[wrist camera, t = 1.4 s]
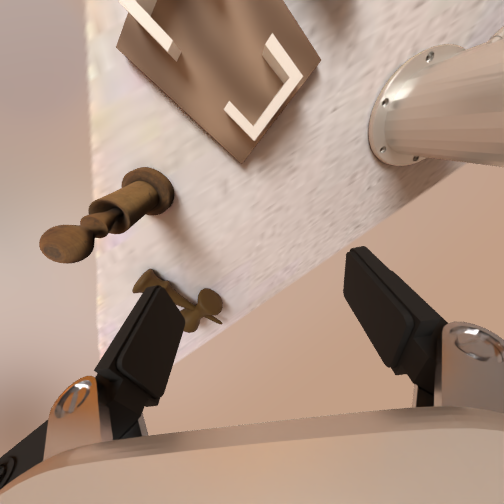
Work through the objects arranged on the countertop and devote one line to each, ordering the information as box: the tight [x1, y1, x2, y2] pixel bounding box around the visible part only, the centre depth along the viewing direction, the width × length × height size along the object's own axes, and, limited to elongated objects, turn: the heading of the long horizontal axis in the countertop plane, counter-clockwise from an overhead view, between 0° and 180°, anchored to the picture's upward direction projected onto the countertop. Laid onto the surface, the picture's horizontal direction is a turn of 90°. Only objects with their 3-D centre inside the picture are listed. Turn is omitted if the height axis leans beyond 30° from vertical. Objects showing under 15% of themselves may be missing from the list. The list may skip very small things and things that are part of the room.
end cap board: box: [116, 0, 321, 164], centre depth 21 cm, size 14×17×2 cm
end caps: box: [119, 0, 303, 141], centre depth 19 cm, size 8×16×3 cm, turn 49°
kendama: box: [132, 269, 222, 333], centre depth 39 cm, size 6×10×20 cm
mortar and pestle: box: [39, 167, 174, 263], centre depth 21 cm, size 7×6×18 cm
